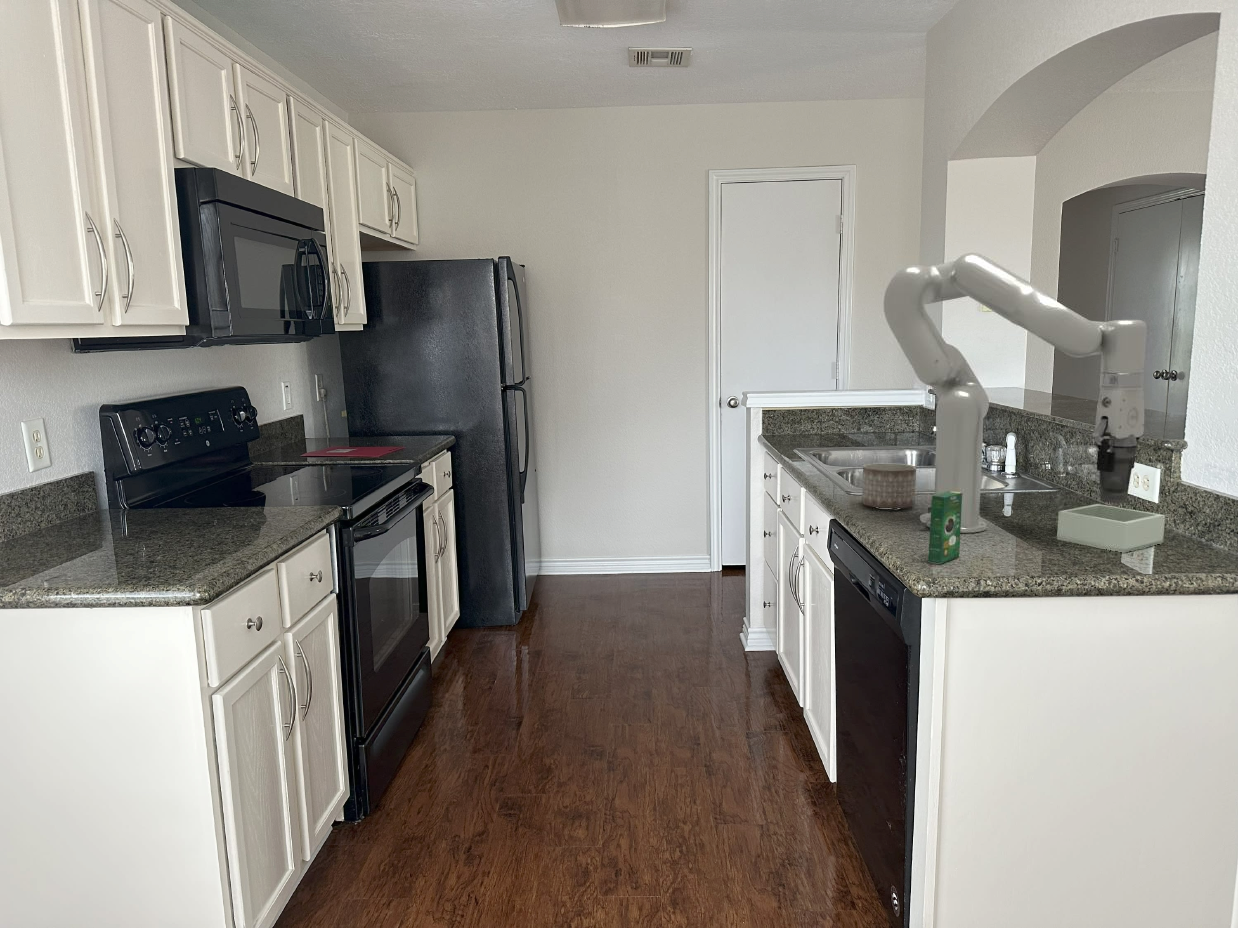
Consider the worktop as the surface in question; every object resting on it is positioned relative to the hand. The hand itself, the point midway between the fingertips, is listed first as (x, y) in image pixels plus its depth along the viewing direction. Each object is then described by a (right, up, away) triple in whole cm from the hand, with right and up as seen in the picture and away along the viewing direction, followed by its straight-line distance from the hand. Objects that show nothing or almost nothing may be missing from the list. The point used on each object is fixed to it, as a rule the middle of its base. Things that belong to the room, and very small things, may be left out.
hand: (1115, 468), depth 175 cm
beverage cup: (0, -7, +1) cm, 7 cm away
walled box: (0, -15, +2) cm, 15 cm away
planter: (-34, -10, +40) cm, 53 cm away
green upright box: (-39, -18, -10) cm, 44 cm away
